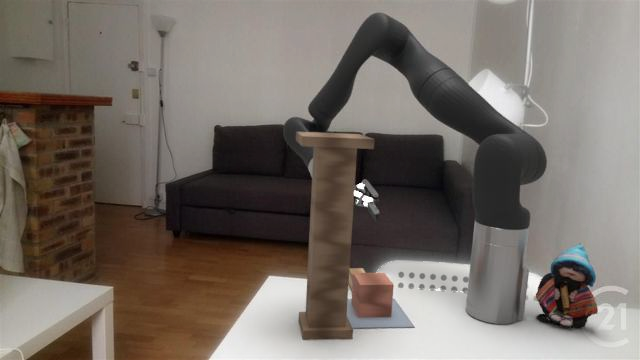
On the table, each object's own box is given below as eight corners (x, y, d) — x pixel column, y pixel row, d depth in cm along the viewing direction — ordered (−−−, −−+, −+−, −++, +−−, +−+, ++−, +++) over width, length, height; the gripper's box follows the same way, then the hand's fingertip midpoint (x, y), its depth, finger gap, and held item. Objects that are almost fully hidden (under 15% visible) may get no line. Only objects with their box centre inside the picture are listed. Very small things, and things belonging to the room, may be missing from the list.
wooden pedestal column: (348, 310, 90) (360, 134, 85) (361, 338, 79) (375, 139, 74) (288, 311, 88) (296, 131, 83) (293, 339, 78) (302, 136, 73)
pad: (394, 299, 96) (394, 298, 96) (414, 327, 84) (414, 326, 84) (338, 299, 94) (338, 298, 94) (351, 328, 83) (351, 327, 83)
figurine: (531, 326, 87) (541, 244, 85) (533, 311, 93) (543, 235, 91) (595, 340, 83) (608, 254, 80) (593, 324, 89) (605, 244, 87)
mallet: (368, 281, 104) (370, 254, 103) (391, 317, 87) (393, 284, 86) (340, 282, 103) (342, 254, 102) (358, 317, 87) (360, 284, 86)
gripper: (299, 175, 112) (328, 227, 102) (355, 154, 115) (389, 202, 105) (303, 196, 118) (330, 247, 108) (356, 175, 121) (388, 223, 110)
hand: (359, 225), depth 106 cm, fingers open, 8 cm apart
